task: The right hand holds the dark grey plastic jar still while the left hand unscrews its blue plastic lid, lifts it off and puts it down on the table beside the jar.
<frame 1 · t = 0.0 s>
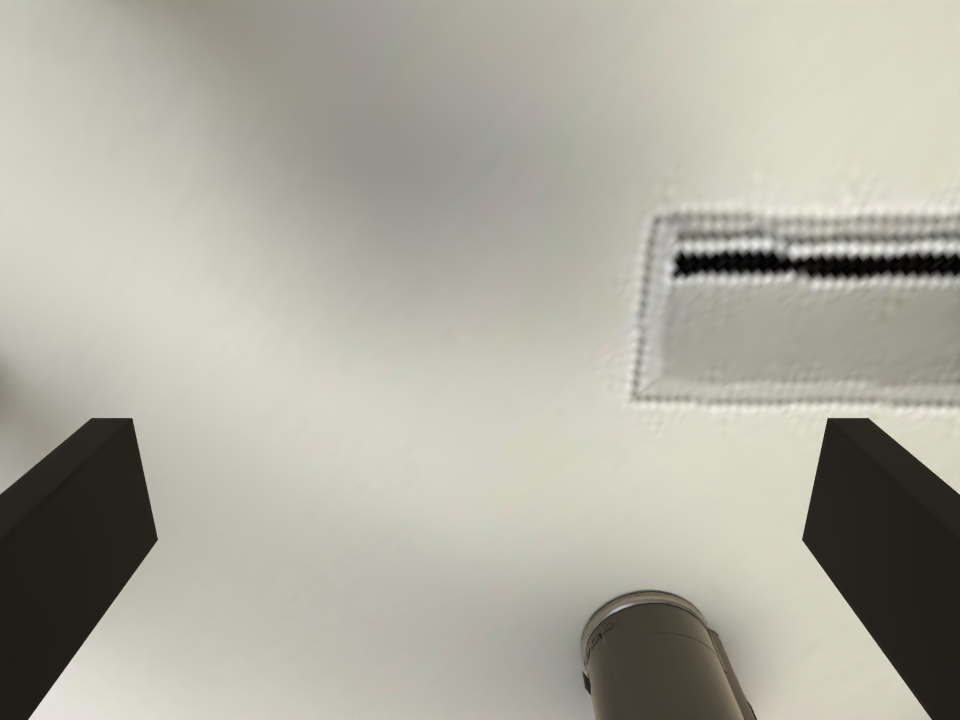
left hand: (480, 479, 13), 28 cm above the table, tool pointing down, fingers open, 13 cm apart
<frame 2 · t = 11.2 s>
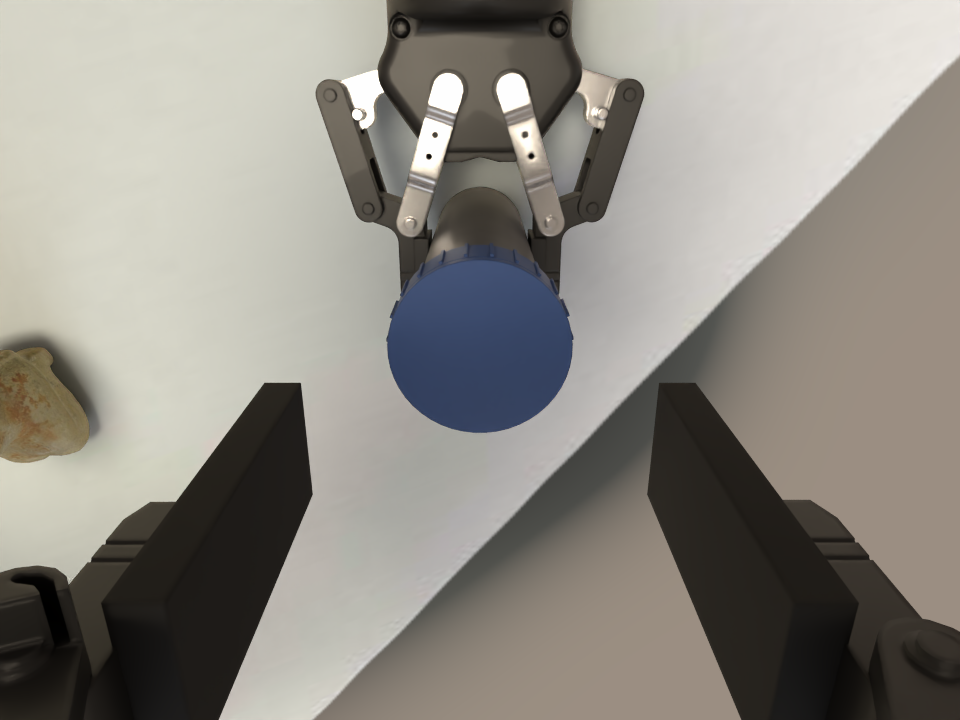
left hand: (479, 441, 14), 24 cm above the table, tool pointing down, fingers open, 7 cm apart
right hand: (480, 309, 32), fingers closed on jar, 4 cm apart
sculpture: (46, 390, 40), on the table
jar: (480, 229, 37), on the table, touching right hand
lid: (479, 346, 20), point 18 cm above the table, screwed on, not yet turned
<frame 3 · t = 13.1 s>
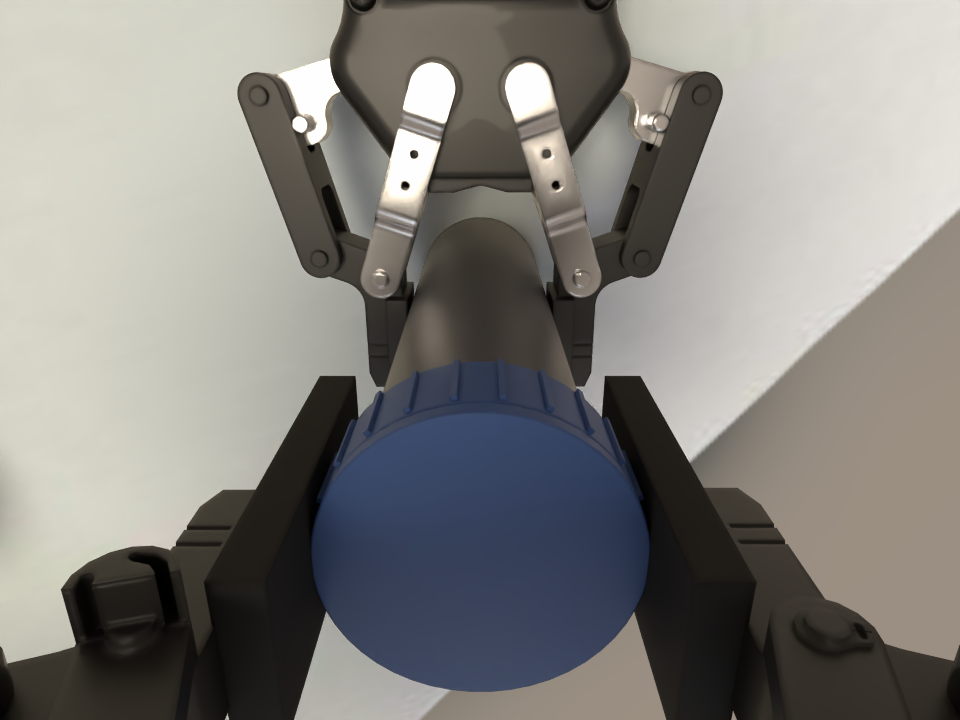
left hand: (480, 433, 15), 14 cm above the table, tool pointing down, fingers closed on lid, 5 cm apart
right hand: (481, 391, 23), fingers closed on jar, 4 cm apart
jar: (480, 273, 28), on the table, touching right hand
lid: (480, 551, 11), point 18 cm above the table, screwed on, not yet turned, touching left hand
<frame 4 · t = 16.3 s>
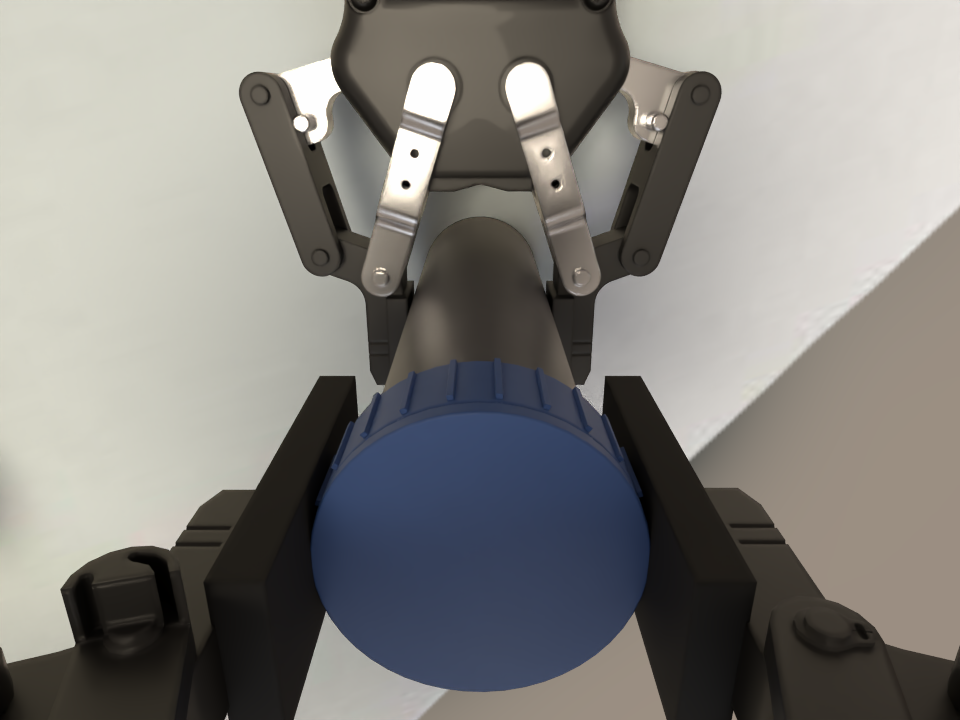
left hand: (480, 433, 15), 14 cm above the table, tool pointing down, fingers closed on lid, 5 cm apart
right hand: (481, 390, 23), fingers closed on jar, 4 cm apart
jar: (480, 272, 28), on the table, touching right hand
lid: (480, 551, 11), point 18 cm above the table, turned 95° so far, risen 0.1 cm, still on its thread, touching left hand
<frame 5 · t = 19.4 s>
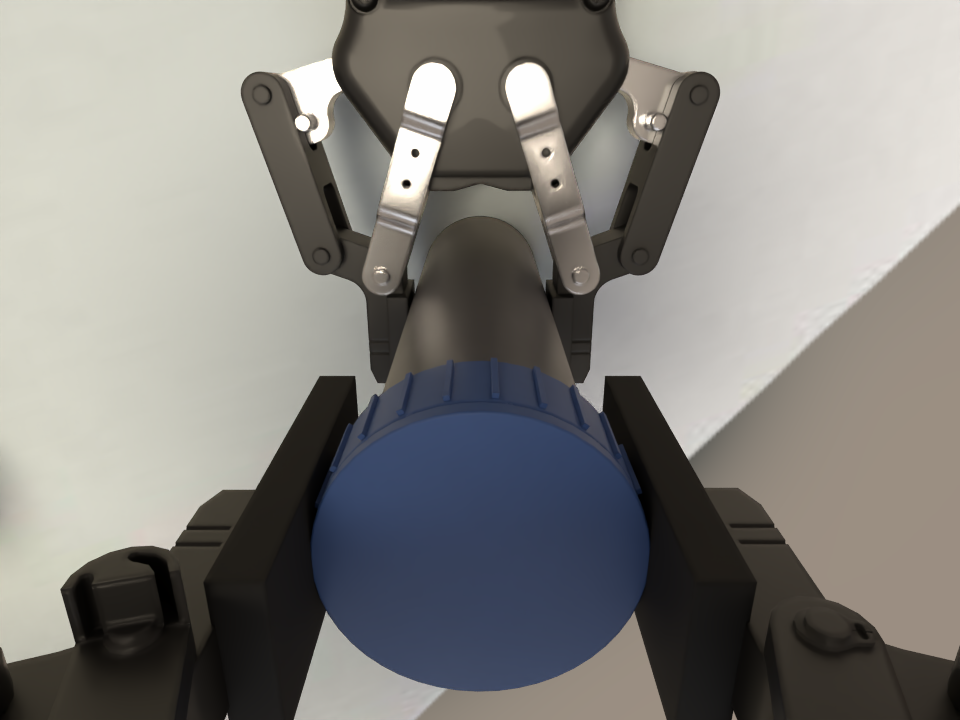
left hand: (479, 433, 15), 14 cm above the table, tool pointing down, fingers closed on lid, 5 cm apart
right hand: (481, 388, 24), fingers closed on jar, 4 cm apart
jar: (480, 271, 28), on the table, touching right hand
lid: (480, 551, 11), point 19 cm above the table, turned 190° so far, risen 0.3 cm, still on its thread, touching left hand
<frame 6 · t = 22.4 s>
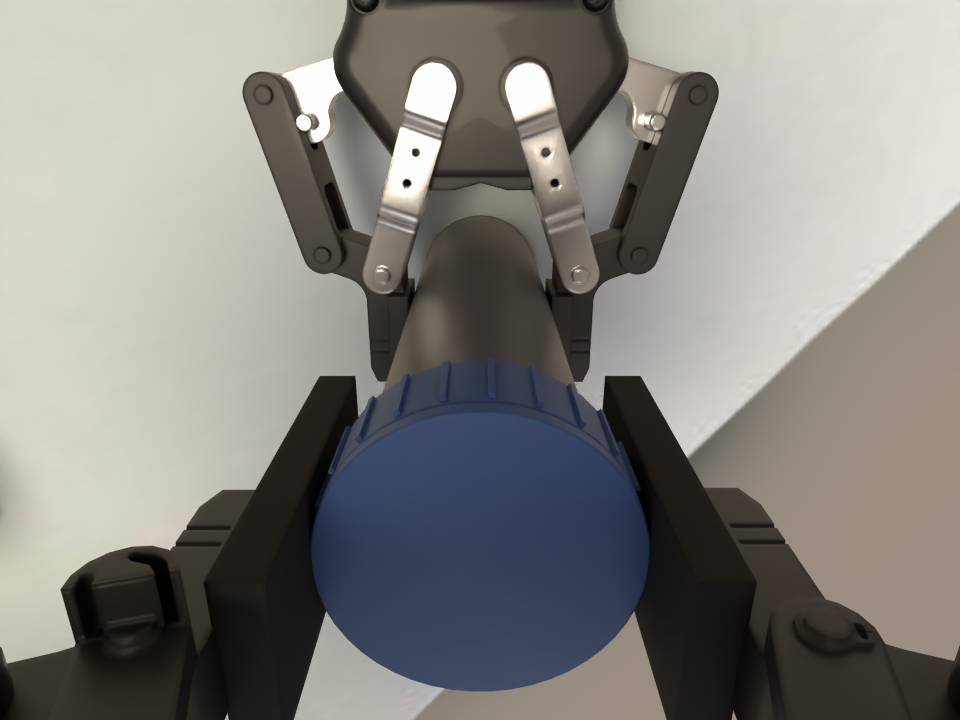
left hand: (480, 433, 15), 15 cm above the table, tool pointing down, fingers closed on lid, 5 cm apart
right hand: (481, 386, 24), fingers closed on jar, 4 cm apart
jar: (480, 270, 28), on the table, touching right hand
lid: (480, 551, 11), point 19 cm above the table, turned 285° so far, risen 0.4 cm, still on its thread, touching left hand
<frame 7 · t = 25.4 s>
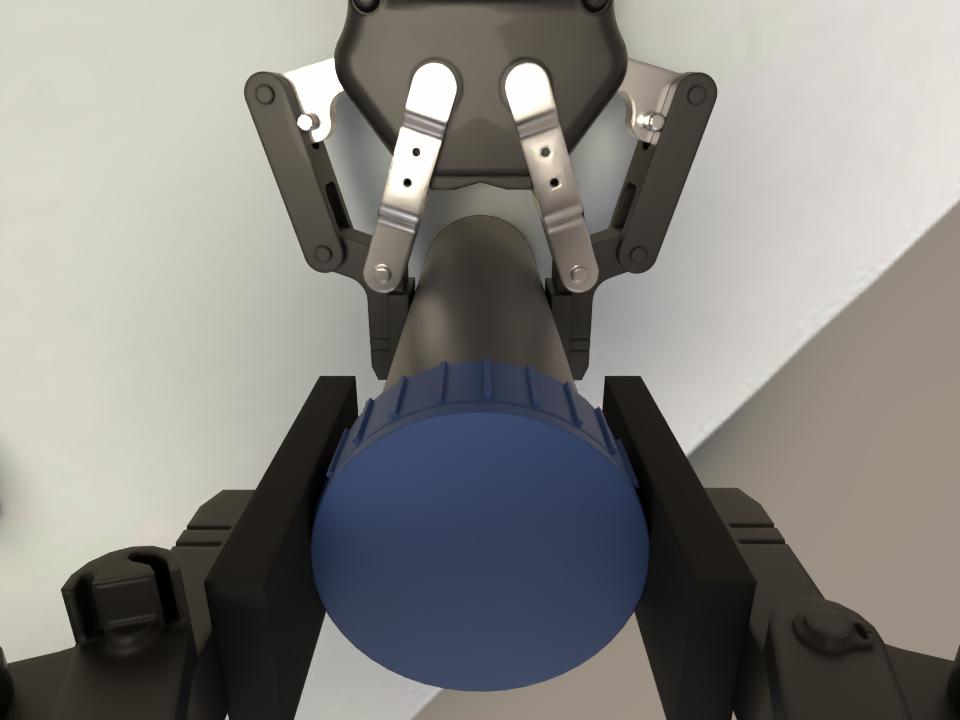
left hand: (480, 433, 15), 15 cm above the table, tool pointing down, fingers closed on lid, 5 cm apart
right hand: (480, 385, 24), fingers closed on jar, 4 cm apart
jar: (480, 269, 28), on the table, touching right hand
lid: (480, 551, 11), point 19 cm above the table, turned 381° so far, risen 0.5 cm, still on its thread, touching left hand
when the left hand's fingers open (0 cm above the table, at t = 31.7 s): lid drops 3 cm, point 2 cm above the table.
when the right hand's fingers open (6 cm above the table, at t = 32.3 s): jar stays where it is, on the table.
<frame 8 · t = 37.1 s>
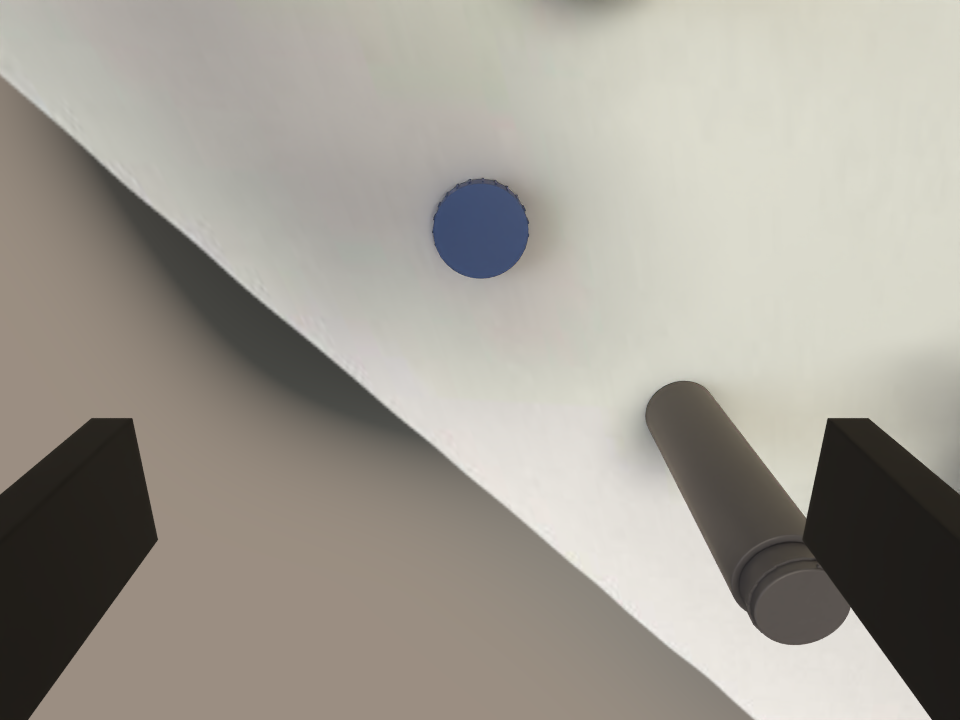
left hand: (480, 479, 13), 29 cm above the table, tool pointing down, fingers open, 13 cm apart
jar: (680, 412, 45), on the table
lid: (480, 231, 38), point 2 cm above the table, off its thread
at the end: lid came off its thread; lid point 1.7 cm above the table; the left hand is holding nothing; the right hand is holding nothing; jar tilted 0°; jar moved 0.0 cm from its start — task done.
